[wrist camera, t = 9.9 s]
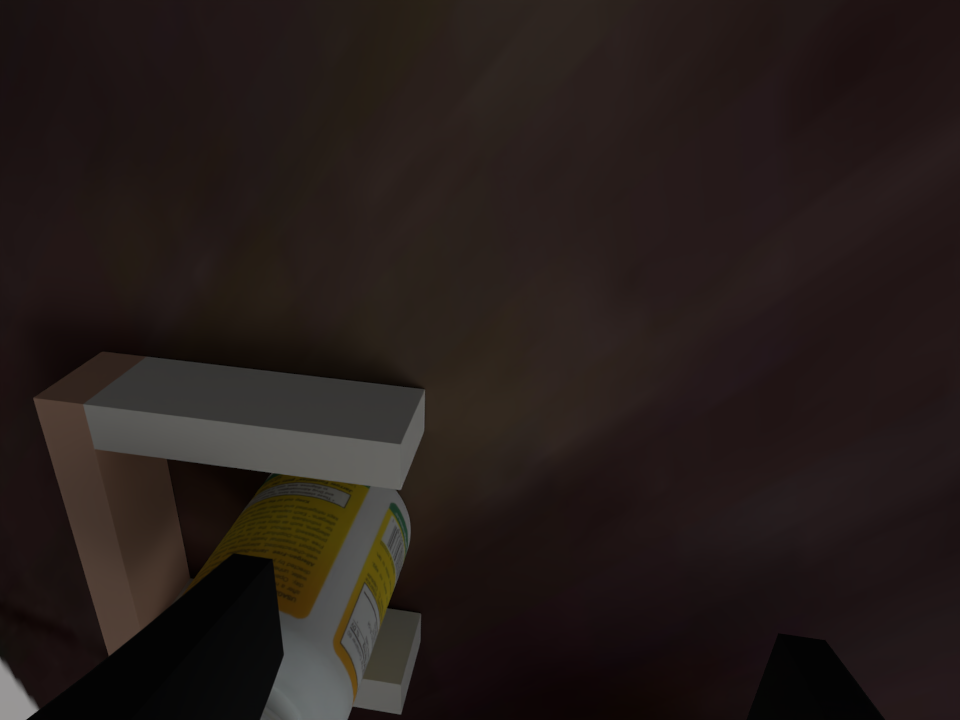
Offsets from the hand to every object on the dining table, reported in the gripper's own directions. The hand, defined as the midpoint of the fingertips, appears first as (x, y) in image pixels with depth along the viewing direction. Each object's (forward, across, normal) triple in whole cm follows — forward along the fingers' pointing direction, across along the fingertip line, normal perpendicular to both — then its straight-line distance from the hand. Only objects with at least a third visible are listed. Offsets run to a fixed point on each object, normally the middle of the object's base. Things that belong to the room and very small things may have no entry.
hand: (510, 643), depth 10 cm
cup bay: (+10, +8, +8) cm, 15 cm away
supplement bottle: (+11, +6, +7) cm, 14 cm away
